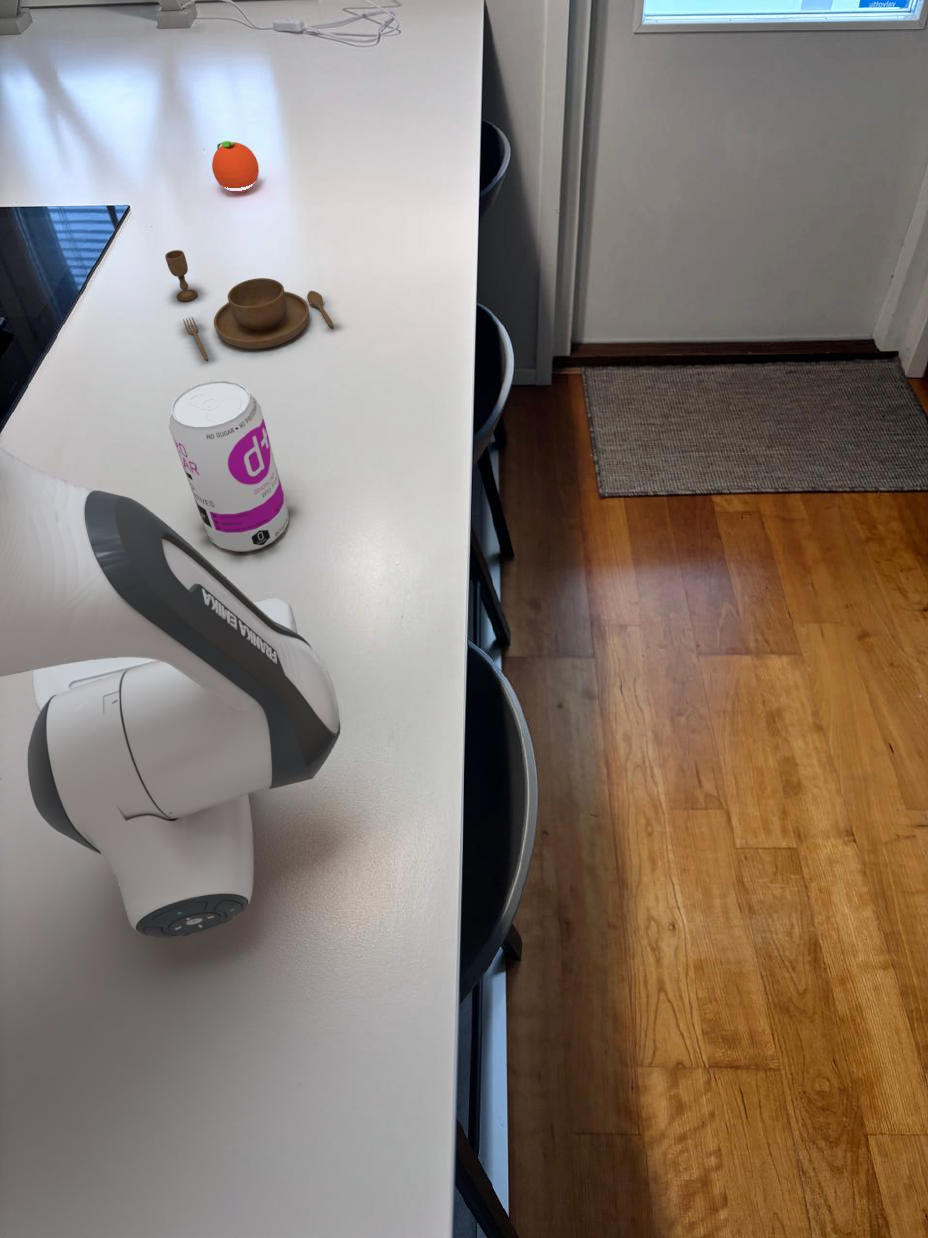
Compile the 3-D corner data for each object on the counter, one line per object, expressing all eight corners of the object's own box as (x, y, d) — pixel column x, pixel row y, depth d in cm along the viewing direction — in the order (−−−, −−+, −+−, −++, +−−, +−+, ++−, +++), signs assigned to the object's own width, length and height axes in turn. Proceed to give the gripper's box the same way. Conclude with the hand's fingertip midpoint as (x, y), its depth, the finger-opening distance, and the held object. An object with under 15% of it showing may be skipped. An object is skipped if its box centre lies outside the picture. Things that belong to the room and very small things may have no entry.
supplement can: (306, 516, 96) (275, 391, 85) (253, 567, 91) (213, 442, 80) (246, 490, 99) (208, 366, 88) (191, 538, 95) (144, 414, 83)
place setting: (206, 371, 114) (192, 327, 110) (170, 295, 127) (157, 253, 122) (343, 331, 118) (335, 287, 114) (295, 261, 131) (286, 220, 126)
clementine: (206, 189, 148) (193, 142, 142) (243, 174, 151) (232, 127, 145) (234, 204, 144) (222, 156, 138) (272, 188, 147) (261, 141, 141)
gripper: (306, 664, 69) (279, 540, 78) (19, 736, 67) (26, 598, 76) (321, 715, 74) (294, 592, 83) (54, 784, 71) (56, 649, 80)
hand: (164, 596), depth 79 cm, fingers open, 8 cm apart
